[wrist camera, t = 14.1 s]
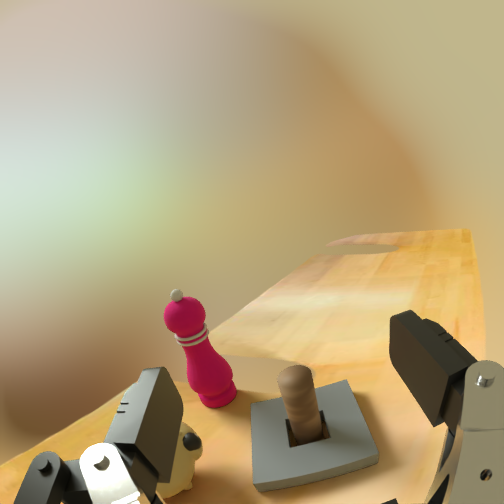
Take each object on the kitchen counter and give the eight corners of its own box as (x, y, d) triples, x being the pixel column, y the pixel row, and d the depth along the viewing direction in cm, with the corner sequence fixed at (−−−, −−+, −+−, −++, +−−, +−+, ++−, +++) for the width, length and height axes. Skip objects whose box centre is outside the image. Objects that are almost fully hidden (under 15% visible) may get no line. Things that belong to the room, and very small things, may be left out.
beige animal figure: (232, 472, 28) (200, 423, 25) (161, 524, 20) (110, 484, 18) (188, 438, 35) (156, 389, 33) (126, 480, 28) (83, 434, 25)
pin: (298, 452, 29) (278, 391, 26) (294, 432, 33) (275, 370, 30) (326, 445, 29) (314, 382, 26) (321, 426, 32) (308, 361, 29)
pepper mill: (190, 400, 44) (142, 298, 39) (219, 377, 49) (179, 277, 44) (218, 416, 39) (167, 305, 34) (248, 388, 44) (209, 280, 39)
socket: (258, 492, 24) (253, 483, 24) (254, 414, 38) (250, 403, 37) (377, 462, 24) (378, 452, 23) (347, 390, 37) (346, 379, 37)
